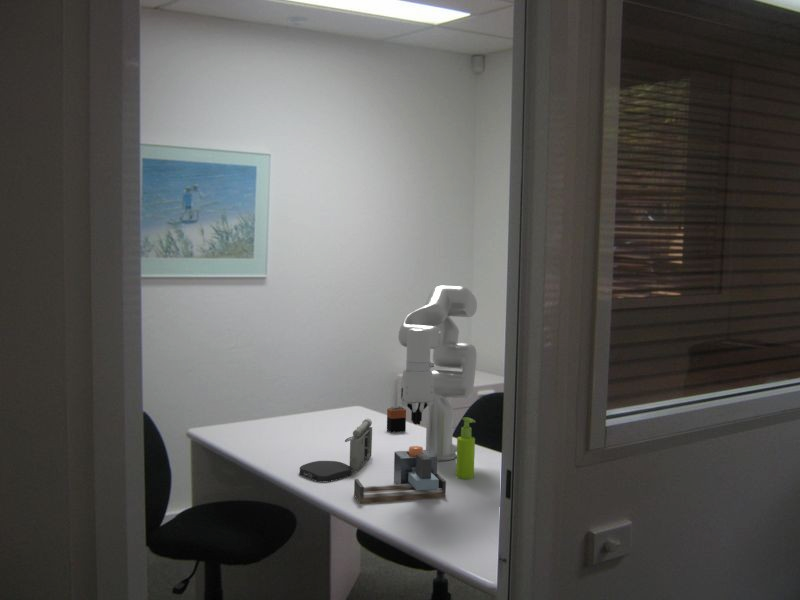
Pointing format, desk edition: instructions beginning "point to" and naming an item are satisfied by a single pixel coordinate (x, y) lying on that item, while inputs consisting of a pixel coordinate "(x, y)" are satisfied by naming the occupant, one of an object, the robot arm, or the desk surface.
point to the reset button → (415, 450)
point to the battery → (396, 419)
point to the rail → (396, 492)
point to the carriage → (423, 474)
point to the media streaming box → (325, 470)
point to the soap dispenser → (465, 451)
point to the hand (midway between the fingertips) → (416, 423)
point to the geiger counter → (360, 445)
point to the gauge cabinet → (409, 465)
